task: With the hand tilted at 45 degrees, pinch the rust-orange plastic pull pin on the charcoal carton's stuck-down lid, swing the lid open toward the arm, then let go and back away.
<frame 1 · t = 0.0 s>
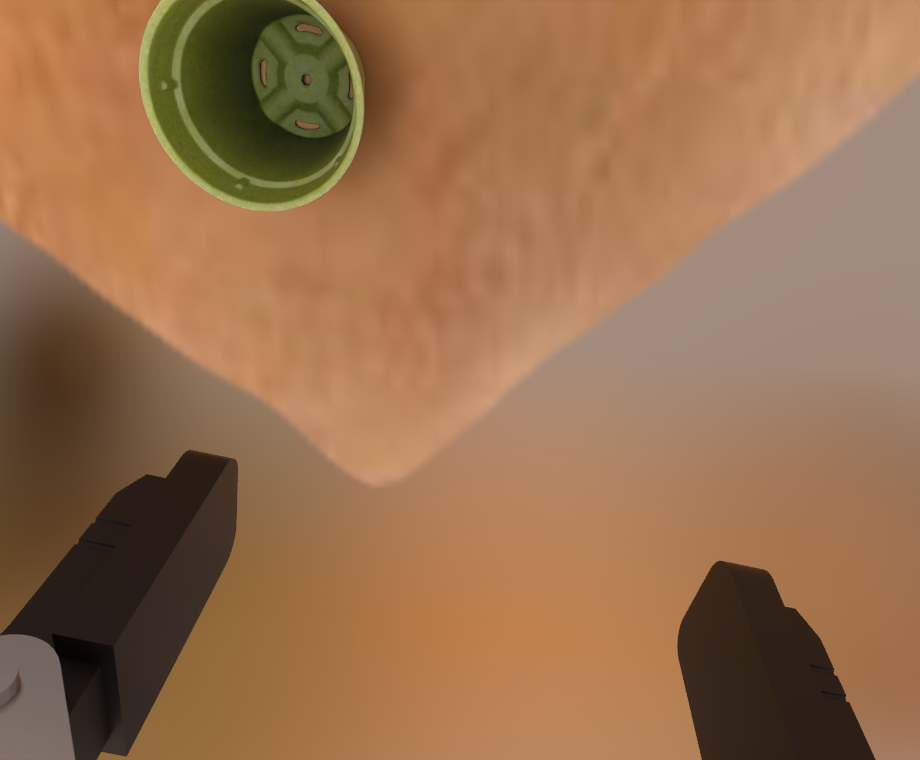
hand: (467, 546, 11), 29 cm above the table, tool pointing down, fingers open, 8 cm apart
plant pot: (310, 75, 35), on the table
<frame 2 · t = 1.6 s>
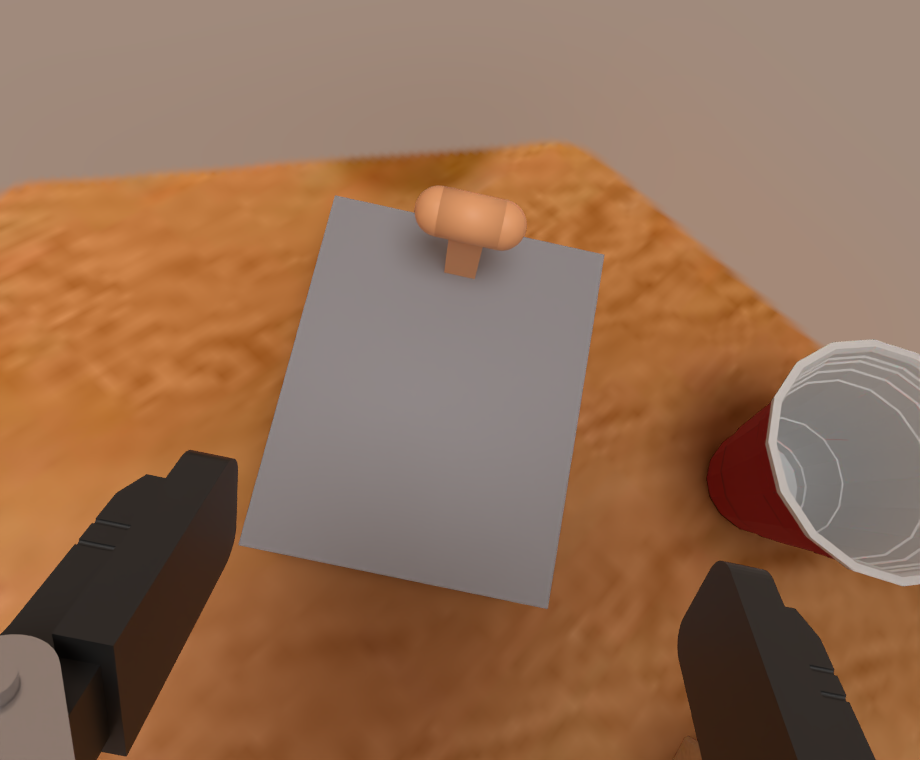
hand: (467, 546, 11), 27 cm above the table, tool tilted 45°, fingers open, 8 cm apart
plastic cup: (751, 479, 40), on the table
carton lid: (437, 376, 30), point 10 cm above the table, hinge at 0.0°
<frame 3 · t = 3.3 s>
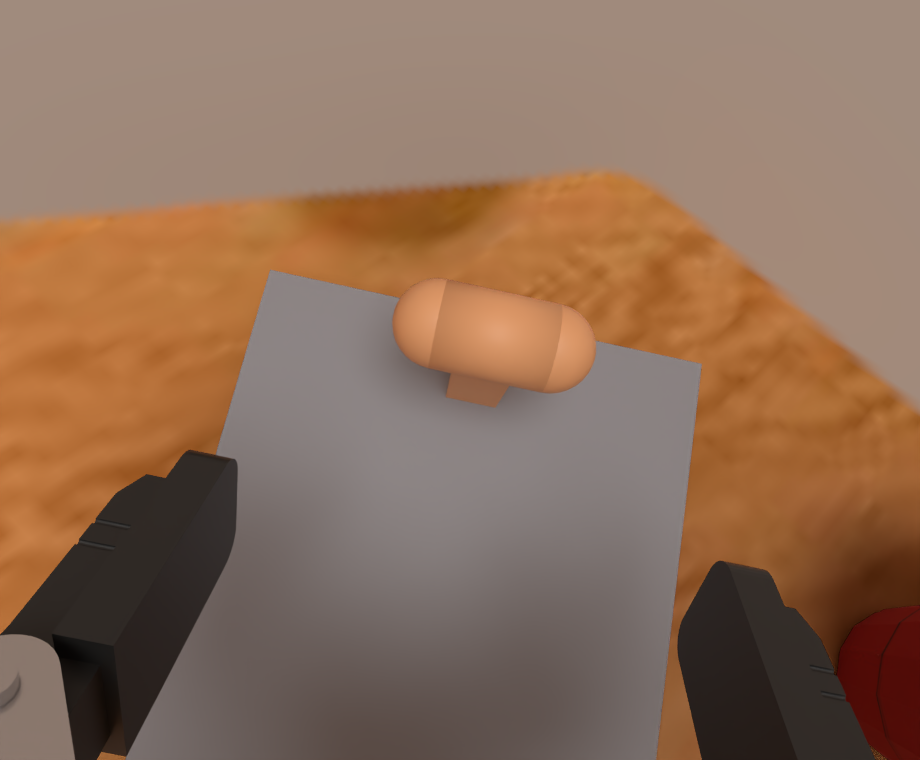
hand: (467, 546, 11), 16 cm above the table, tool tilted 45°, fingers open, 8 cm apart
plastic cup: (901, 676, 27), on the table
carton lid: (433, 611, 17), point 10 cm above the table, hinge at 0.0°
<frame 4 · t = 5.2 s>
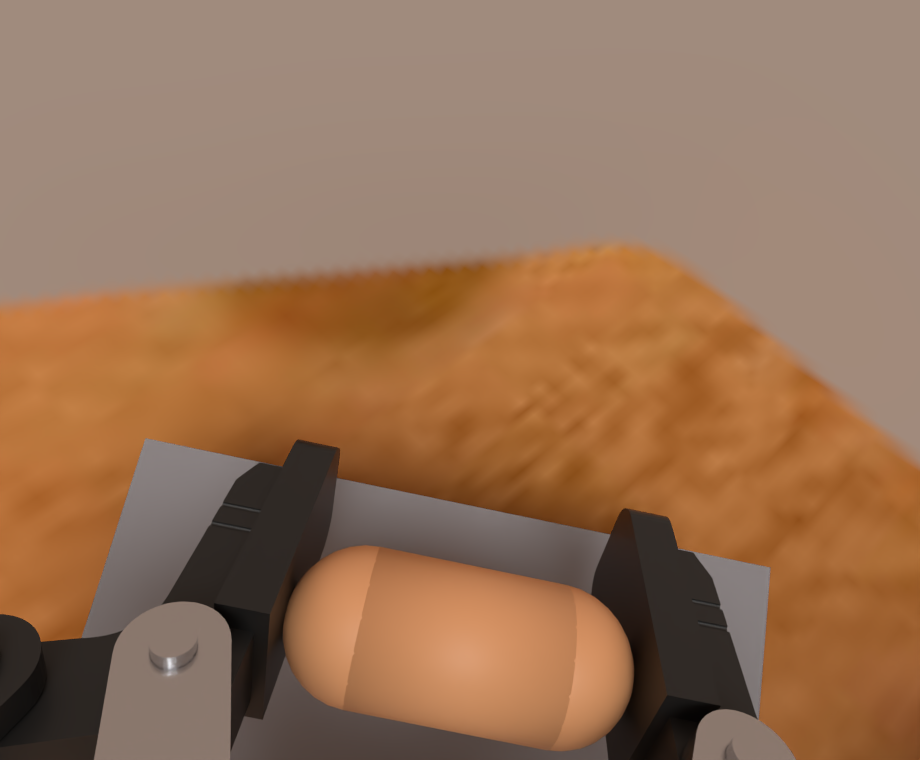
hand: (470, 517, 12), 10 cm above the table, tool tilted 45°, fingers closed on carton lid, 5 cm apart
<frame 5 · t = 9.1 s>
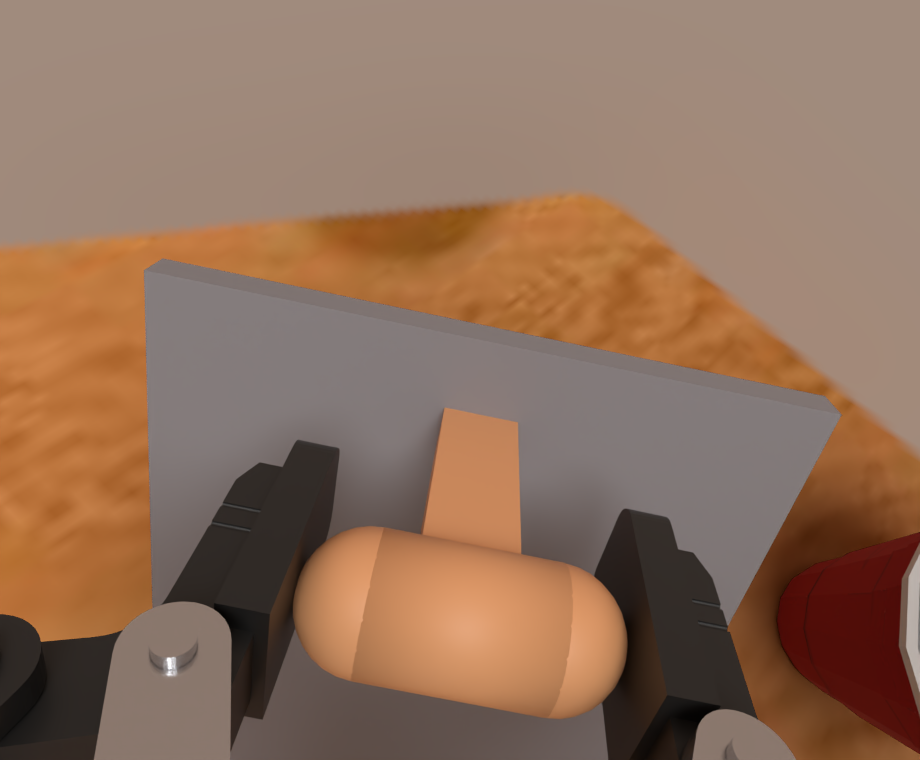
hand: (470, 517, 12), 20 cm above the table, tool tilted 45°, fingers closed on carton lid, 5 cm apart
plastic cup: (832, 621, 32), on the table
carton lid: (410, 745, 15), point 15 cm above the table, hinge at 42.3°, touching gripper
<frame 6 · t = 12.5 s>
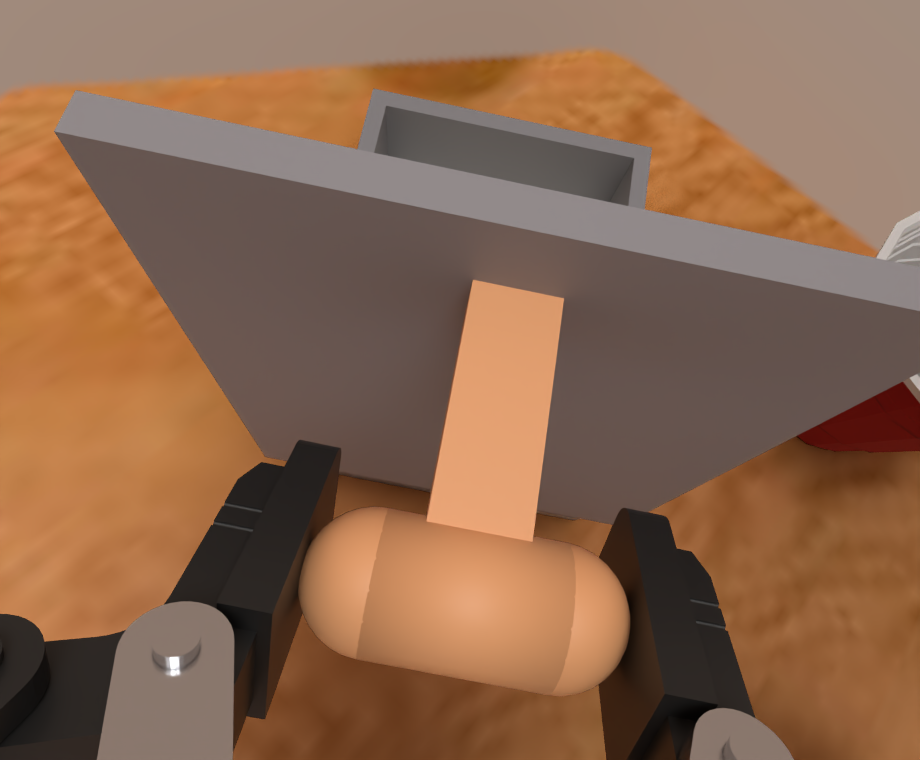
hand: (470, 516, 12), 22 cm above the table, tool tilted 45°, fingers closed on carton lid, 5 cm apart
plastic cup: (821, 396, 37), on the table
carton lid: (452, 519, 17), point 16 cm above the table, hinge at 83.9°, touching gripper
carton: (469, 328, 36), on the table
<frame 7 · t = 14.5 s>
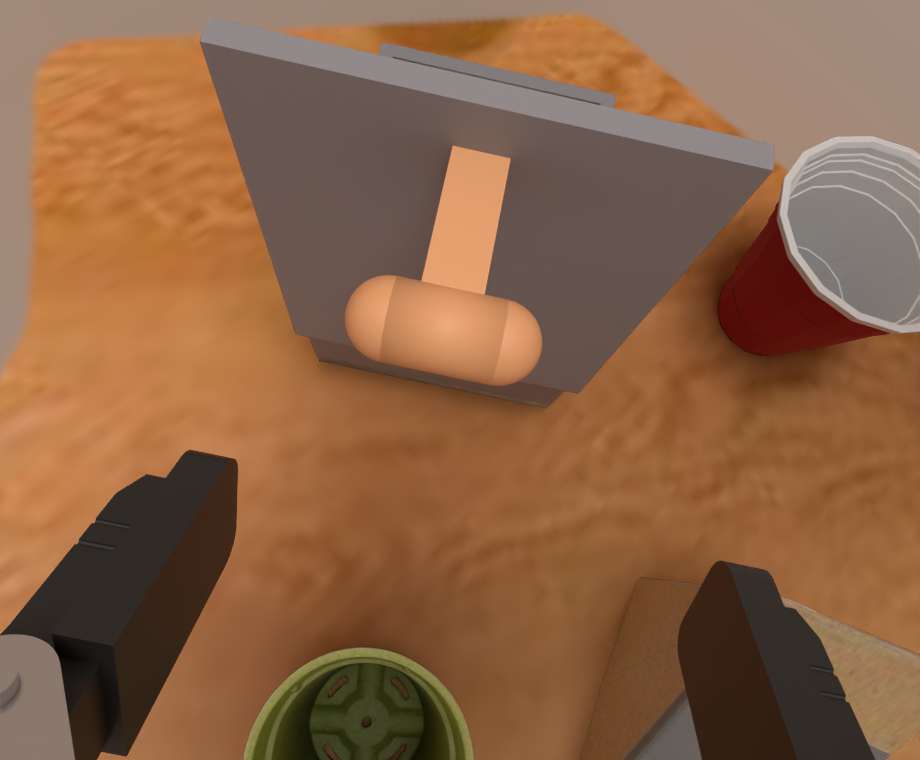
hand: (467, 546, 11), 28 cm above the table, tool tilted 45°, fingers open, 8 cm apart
plastic cup: (759, 312, 43), on the table
plant pot: (368, 717, 36), on the table
sandwich container: (662, 737, 37), on the table
carton lid: (441, 345, 24), point 16 cm above the table, hinge at 84.8°
carton: (461, 250, 42), on the table
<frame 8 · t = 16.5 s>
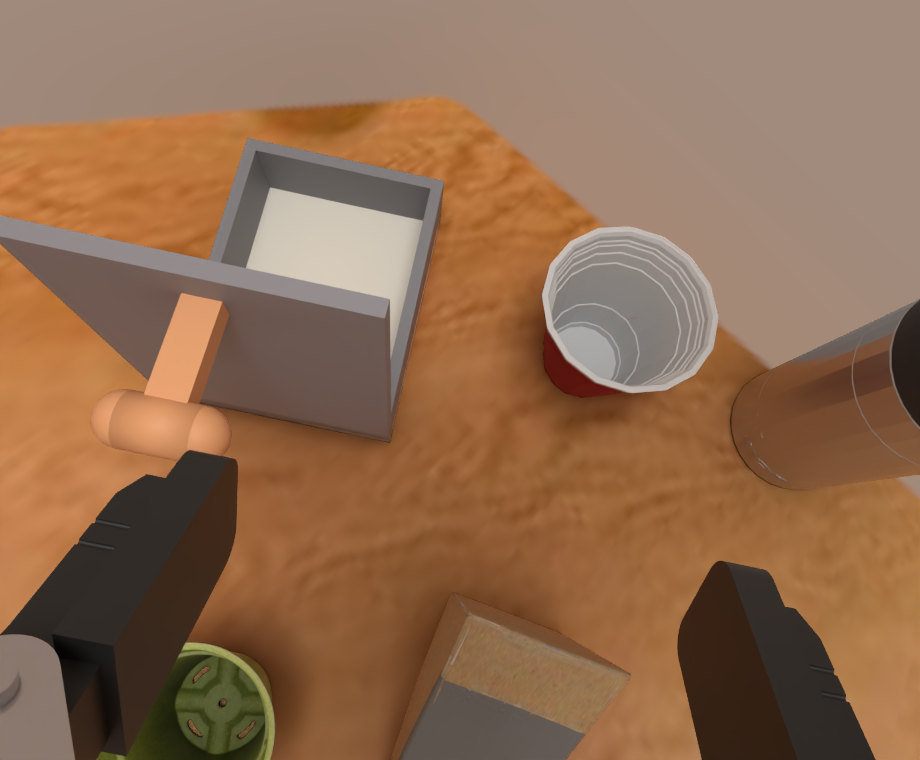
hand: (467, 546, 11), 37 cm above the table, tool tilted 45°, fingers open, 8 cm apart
plastic cup: (581, 358, 51), on the table
plant pot: (226, 699, 44), on the table
sandwich container: (467, 724, 44), on the table
carton lid: (225, 414, 32), point 16 cm above the table, hinge at 84.8°
carton: (325, 307, 50), on the table
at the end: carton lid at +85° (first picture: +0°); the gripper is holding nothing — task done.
